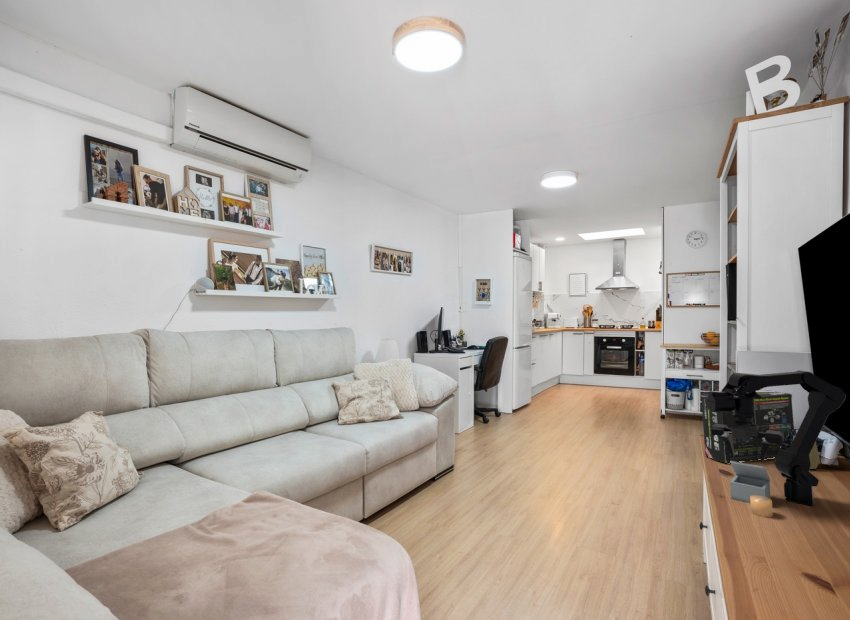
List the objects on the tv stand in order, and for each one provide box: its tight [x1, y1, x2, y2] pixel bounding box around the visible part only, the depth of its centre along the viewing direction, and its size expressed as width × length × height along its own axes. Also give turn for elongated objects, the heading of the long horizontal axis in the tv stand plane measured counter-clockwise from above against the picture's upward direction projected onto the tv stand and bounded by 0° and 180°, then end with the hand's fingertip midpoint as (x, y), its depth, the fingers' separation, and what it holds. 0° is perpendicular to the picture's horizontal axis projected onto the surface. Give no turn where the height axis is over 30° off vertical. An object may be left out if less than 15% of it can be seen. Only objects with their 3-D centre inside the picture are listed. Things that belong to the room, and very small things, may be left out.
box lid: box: [730, 461, 771, 482], centre depth 140 cm, size 9×9×1 cm
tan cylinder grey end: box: [750, 495, 774, 519], centre depth 128 cm, size 5×5×5 cm
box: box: [729, 474, 772, 504], centre depth 139 cm, size 9×9×6 cm
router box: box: [700, 391, 795, 464], centre depth 180 cm, size 36×11×27 cm, turn 99°
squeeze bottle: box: [793, 420, 820, 470], centre depth 165 cm, size 8×8×18 cm
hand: (747, 459), depth 138 cm, fingers open, 7 cm apart
